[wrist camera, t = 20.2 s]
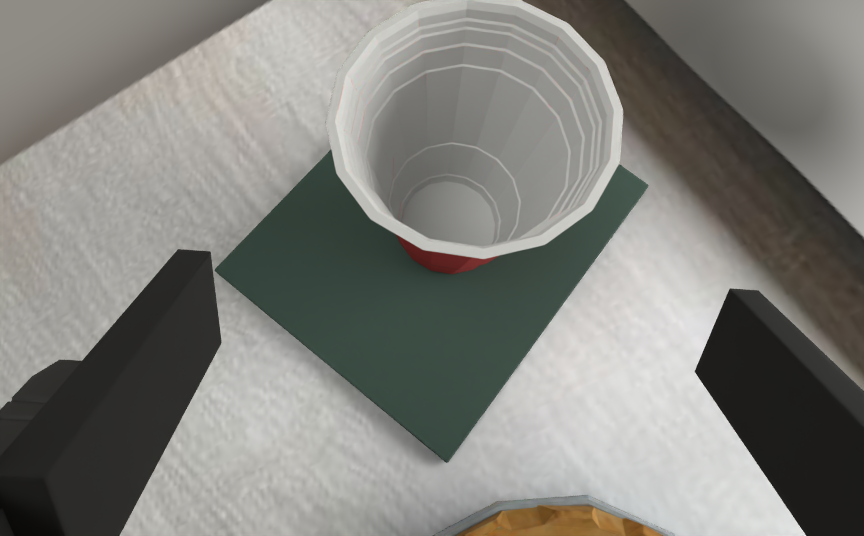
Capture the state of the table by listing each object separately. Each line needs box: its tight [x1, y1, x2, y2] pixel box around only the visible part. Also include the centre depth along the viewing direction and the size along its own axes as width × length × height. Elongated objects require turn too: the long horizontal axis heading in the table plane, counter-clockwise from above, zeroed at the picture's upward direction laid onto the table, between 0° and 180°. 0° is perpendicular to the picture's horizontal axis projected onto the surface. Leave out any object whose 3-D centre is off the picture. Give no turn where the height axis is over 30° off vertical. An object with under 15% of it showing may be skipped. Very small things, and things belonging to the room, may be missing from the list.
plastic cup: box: [326, 0, 623, 274], centre depth 25 cm, size 11×11×12 cm
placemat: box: [215, 150, 648, 462], centre depth 31 cm, size 16×20×1 cm
